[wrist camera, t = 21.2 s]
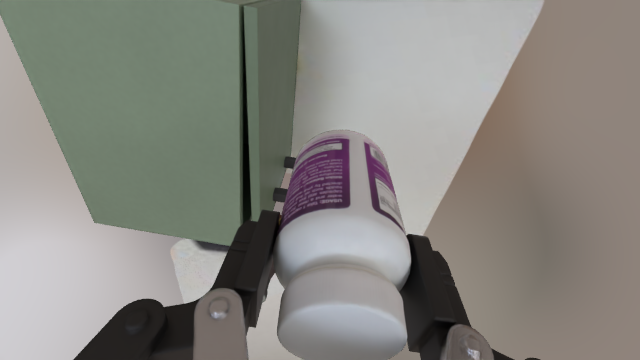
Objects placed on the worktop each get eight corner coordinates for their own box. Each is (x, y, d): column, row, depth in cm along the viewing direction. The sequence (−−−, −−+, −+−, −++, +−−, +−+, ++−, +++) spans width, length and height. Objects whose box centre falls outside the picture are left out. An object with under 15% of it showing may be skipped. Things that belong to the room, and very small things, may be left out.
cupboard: (292, -7, 38) (239, 4, 19) (278, 151, 54) (240, 247, 34) (163, -34, 38) (-30, -51, 18) (186, 134, 53) (94, 222, 33)
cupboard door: (341, 1, 38) (338, 19, 19) (319, 158, 54) (305, 256, 34) (294, -6, 38) (243, 5, 19) (285, 153, 53) (252, 248, 34)
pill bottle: (292, 196, 18) (251, 365, 10) (299, 119, 15) (248, 277, 7) (374, 208, 18) (399, 386, 10) (399, 135, 15) (465, 308, 7)
